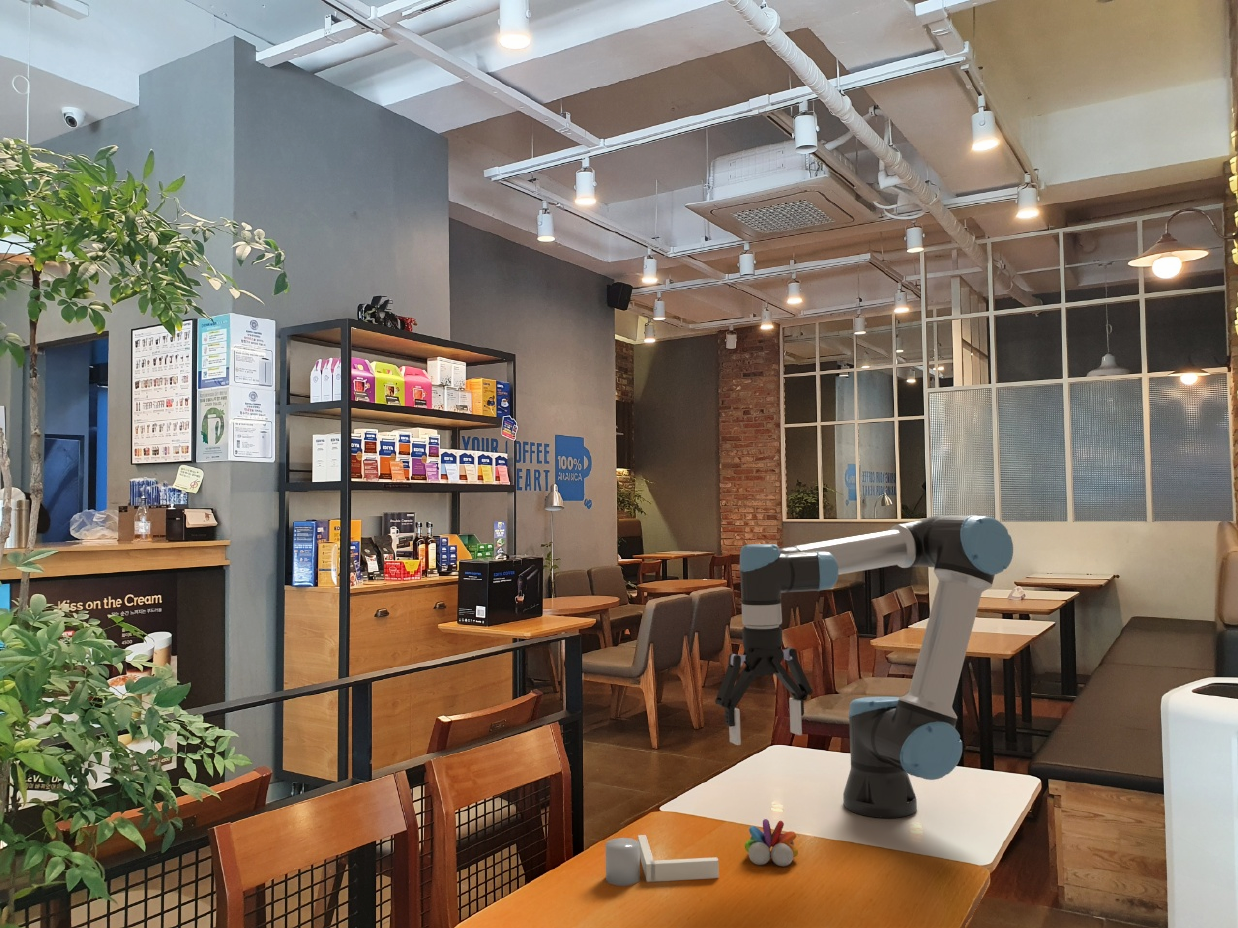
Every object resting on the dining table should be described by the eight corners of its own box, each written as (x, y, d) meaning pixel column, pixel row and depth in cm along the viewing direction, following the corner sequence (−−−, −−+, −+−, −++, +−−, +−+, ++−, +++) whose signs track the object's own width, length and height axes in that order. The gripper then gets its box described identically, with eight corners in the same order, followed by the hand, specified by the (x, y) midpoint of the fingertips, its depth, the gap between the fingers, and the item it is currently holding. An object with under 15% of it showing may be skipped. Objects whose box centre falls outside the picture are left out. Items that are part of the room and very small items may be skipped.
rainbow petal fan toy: (798, 870, 164) (796, 829, 164) (743, 867, 165) (742, 826, 166) (798, 852, 172) (797, 813, 172) (746, 849, 174) (745, 810, 174)
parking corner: (704, 847, 175) (704, 831, 175) (718, 877, 161) (718, 860, 161) (638, 851, 174) (637, 835, 174) (646, 881, 160) (646, 864, 160)
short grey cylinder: (638, 870, 164) (637, 836, 165) (641, 884, 158) (641, 849, 159) (604, 872, 164) (604, 838, 164) (607, 886, 158) (606, 851, 158)
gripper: (804, 618, 183) (809, 725, 182) (694, 629, 173) (698, 742, 172) (827, 622, 176) (832, 733, 175) (714, 634, 166) (718, 752, 165)
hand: (766, 738), depth 173 cm, fingers open, 13 cm apart
